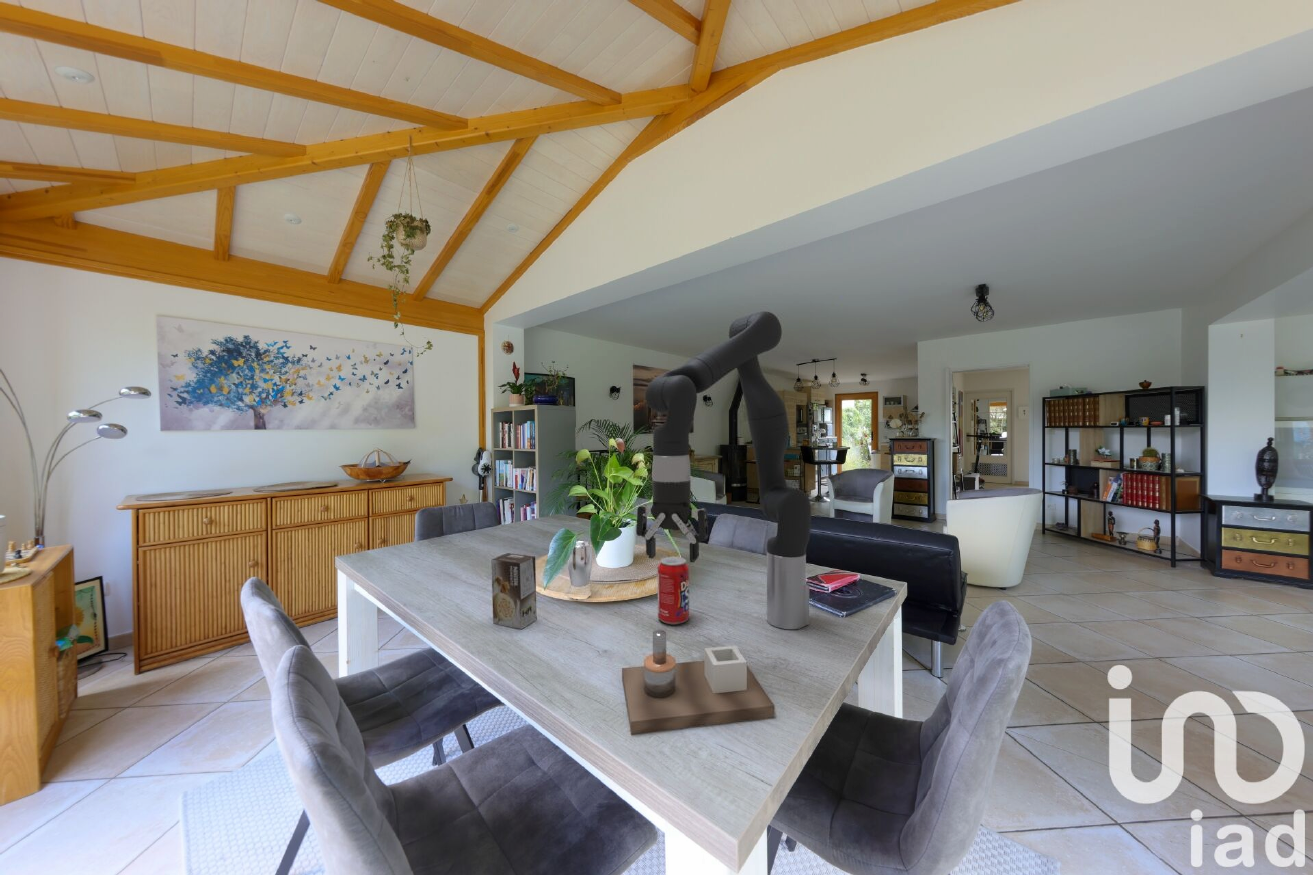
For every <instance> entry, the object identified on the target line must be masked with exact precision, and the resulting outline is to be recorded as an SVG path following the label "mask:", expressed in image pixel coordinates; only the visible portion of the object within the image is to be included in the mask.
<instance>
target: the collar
mask: <svg viewBox="0 0 1313 875" xmlns="http://www.w3.org/2000/svg"><path fill="white" fill-rule="evenodd" d="M703 656H704V660H703V661H704V663H705V677H706V679H707V681H708V683H709V685H710V687H711V689H712V691H713V693H723V692H732V691H742V690H747V666H748V664H747V660H746V659H745V658H744V656H743V655H742V653H741V652H740V650H739V648H738V647H737V646H736V645H729V646H717V647H716V646H715V647H707V648H706V647H705V648H704V655H703Z"/></svg>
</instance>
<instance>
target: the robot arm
mask: <svg viewBox="0 0 1313 875" xmlns="http://www.w3.org/2000/svg"><path fill="white" fill-rule="evenodd" d="M782 334H783V330H782V324H781V322H780V320H779V318H778V317H777V316H776V315H775V314H774V313H773V312H770V311H766V310H765V311H759V312H755V313H751V314H749V315H746V316H743V317H739V318H736V319H735V320H733V321H732V322H731V324H730V326H729V330H728V339H726V340H724V341H721V342H720V343H718V344H715V345H713V346H711V347H709V348H707V349H705V350H703V351H701V352H700V353H698V354H696V355H695V356H694V357H692V358H691V359H689V360H688V361H686V362H685V363H684V364H682V365H680V366H678V367H677V366H676V368H673V369H670V370H668V371H666V372H664V373H661V374H660V375H658V376H656V377H655V378H653V379H652V380H651V381H650V382H649V383H648V385H647V387H646V389H645V393H644V399H645V400H644V401H645V403H646V405H647V406H648V407H649V409H651V410H652V411H654V412H656V413H660V414H661V413H667V414H666V417H665V421H664V423H663V424H661V425H657V426H656V427H655V428H654V430H653V434H652V436H653V437H652V438H653V443H652V444H653V445H652V446H653V447H652V448H653V452H652V454H653V456H652V457H653V459H652V465H651V466H652V469H651V471H652V472H651V479H652V483H651V484H652V486H651V487H652V505H651V506H648V505H647V504H643V505H639V506H638V507H637V514H636V531H635V532H636V535H637V536H638V537H641V538H644V540H645V554H646V556H648V559H651V560H652V559H654V558H655V557H656V555H657V552H656V548H657V546H656V544H657V543H656V542H657V541H656V539H657V538H656V537H655V536H656V534H657V532H658V531H659V530H661V529H662V530H672V531H679V530H680V531H681V532H682V534H684V535H685V536H686V538H687V539H688V540H689V542H690V543H689V563H695V562H696V560H698V558H700V557H699V556H700V542H704V541H706V540H707V539H708V537H709V525H708V510H707V508H705V507H702V508H699V509H698V508H696V509H693V507H692V505H691V502H692V500H691V498H692V497H691V496H692V495H691V462H690V444H689V443H690V441H689V440H690V437H689V436H690V431H691V427H692V424H693V420H694V416H695V412H696V408H697V400H698V394H700V393H701V394H702V393H703V392H705V391H707V390H708V389H710V388H711V387H713V386H714V385H715V384H716V383H717V382H719V381H720V380H721V379H722V378H724V377H726V375H729V373H731V372H733V371H735V369H736V370H737V374H738V376H739V380H740V381H739V382H740V386H741V390H742V393H743V399H744V405H745V409H746V416H747V422H748V427H749V432H750V438H751V441H752V447H753V452H754V459H755V463H756V470H757V478H758V479H757V480H758V489H759V490H758V492H759V503H760V509H761V511H762V513H763V515H764V516H765V517H766V518H767V519H768V520H769V521H771V522H774V523H776V524H777V527H776V536H772V537H770V538H768V539H767V542H766V621H767V623H768V624H770V625H771V626H773V627H776V628H779V629H785V630H799V629H801V628H804V627H805V626H810V586H809V585H808V584H807V583H806V582H807V581H806V580H807V565H806V564H807V559H806V558H807V547H808V544H809V541H810V537H811V536H810V535H811V534H810V533H811V521H812V518H811V516H812V508H811V507H812V506H811V501H810V499H809V496H808V494H807V493H806V492H805V491H803V490H802V489H799V488H796V487H789V486H788V484H787V481H786V475H785V470H784V469H785V468H784V459H785V458H784V457H785V453H786V452H787V448H788V444H789V438H790V425H789V419H788V414H787V413H788V412H787V409H786V405H785V403H784V401H783V400H782V398H781V397H780V395H779V394H778V392H777V391H776V390H775V389H774V388H773V386H771V384H770V383H769V381H768V380H767V379H766V377H765V376H764V374H763V372H762V369H761V365H760V362H759V358H758V355H761V354H763V353H766V352H769V351H771V350H773V349H774V348H776V347H778V344H779V343H780V341H781V339H782ZM650 514H651V515H652V517H653V519H654V522H653V523H652V524H651V526H650V527H649V529H648V528H647V526H648V525H647V524H648V523H647V522H648V517H649V516H650ZM692 517H694V519H695V520H696V521H697V523H698V524H697V525H698V533H697V531H696V529H695V527H694V525H693V524H692V523H691V521H690V519H691V518H692Z"/></svg>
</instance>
